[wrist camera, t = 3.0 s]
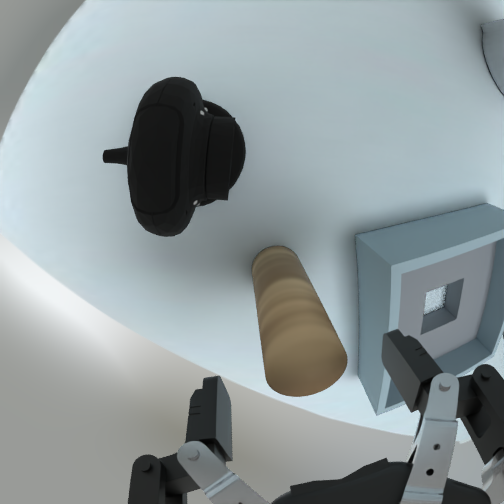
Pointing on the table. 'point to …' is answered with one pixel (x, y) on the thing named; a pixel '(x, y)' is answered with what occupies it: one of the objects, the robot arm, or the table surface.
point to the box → (424, 280)
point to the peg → (294, 327)
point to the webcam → (178, 155)
